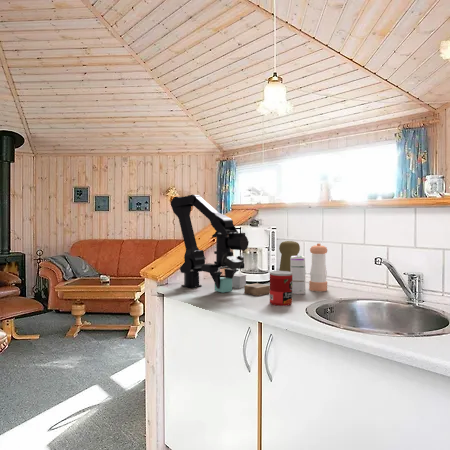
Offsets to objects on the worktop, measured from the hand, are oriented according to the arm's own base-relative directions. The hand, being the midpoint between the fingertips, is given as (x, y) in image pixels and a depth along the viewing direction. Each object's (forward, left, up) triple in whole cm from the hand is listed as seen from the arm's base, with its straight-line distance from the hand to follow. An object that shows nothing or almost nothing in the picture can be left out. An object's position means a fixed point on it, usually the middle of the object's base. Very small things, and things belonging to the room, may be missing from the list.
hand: (223, 287), depth 162 cm
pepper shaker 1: (+7, +33, -2) cm, 34 cm away
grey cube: (-4, +12, -2) cm, 13 cm away
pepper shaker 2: (+23, +32, -2) cm, 39 cm away
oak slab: (+11, +8, -2) cm, 14 cm away
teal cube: (0, 0, -1) cm, 1 cm away
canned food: (+29, +1, -2) cm, 29 cm away
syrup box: (+21, +21, -2) cm, 30 cm away
